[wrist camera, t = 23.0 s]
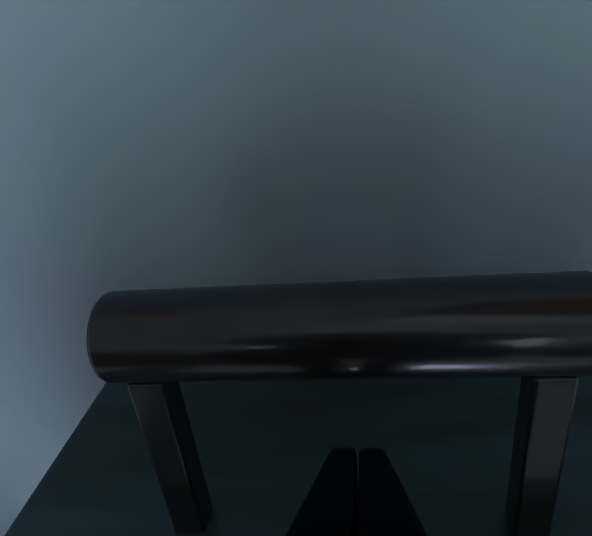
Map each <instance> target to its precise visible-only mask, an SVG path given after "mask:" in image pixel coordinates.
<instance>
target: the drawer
mask: <svg viewBox="0 0 592 536" xmlns="http://www.w3.org/2000/svg"><path fill="white" fill-rule="evenodd" d="M87 351H88V356H89V360H90V364H91V366H92V368H93V370H94V372H95V373H96V375H97V376H98V377H99V378H100V379H102V380H104V381H106V384H105V385H104V387H103V388H102V390H101V391H100V393H99V394H98V396H97V397H96V399H95V400H94V402H93V403H92V405H91V406H90V408H89V409H88V411H87V412H86V414H85V415H84V417H83V418H82V420H81V421H80V423H79V424H78V426H77V427H76V429H75V430H74V432H73V433H72V435H71V436H70V438H69V439H68V441H67V442H66V444H65V445H64V447H63V448H62V450H61V451H60V453H59V454H58V456H57V457H56V459H55V460H54V462H53V463H52V465H51V466H50V468H49V469H48V471H47V472H46V474H45V475H44V477H43V478H42V480H41V481H40V483H39V484H38V486H37V487H36V489H35V490H34V492H33V493H32V495H31V496H30V498H29V499H28V501H27V502H26V504H25V505H24V507H23V508H22V510H21V512H20V513H19V515H18V516H17V518H16V519H15V521H14V522H13V524H12V525H11V527H10V528H9V530H8V531H7V533H6V534H5V536H286V534H287V532H288V530H289V528H290V526H291V524H292V522H293V520H294V519H295V517H296V515H297V513H298V511H299V509H300V507H301V505H302V503H303V501H304V499H305V498H306V496H307V494H308V492H309V490H310V488H311V486H312V484H313V482H314V480H315V479H316V477H317V475H318V473H319V471H320V469H321V467H322V465H323V463H324V461H325V460H326V458H327V456H328V454H329V452H330V451H331V449H333V448H335V447H352V448H354V449H355V450H356V455H357V466H358V478H359V451H360V449H361V448H364V447H366V448H383V449H384V450H385V452H386V454H387V456H388V458H389V460H390V462H391V464H392V466H393V468H394V470H395V472H396V473H397V475H398V477H399V479H400V481H401V483H402V485H403V487H404V489H405V491H406V493H407V495H408V497H409V499H410V501H411V503H412V505H413V507H414V509H415V511H416V513H417V515H418V517H419V519H420V521H421V523H422V525H423V527H424V529H425V531H426V533H427V535H428V536H592V272H590V271H564V272H541V273H518V274H495V275H472V276H449V277H426V278H403V279H380V280H357V281H334V282H311V283H288V284H265V285H242V286H219V287H195V288H172V289H149V290H126V291H111V292H108V293H106V294H104V295H103V296H101V297H100V298H99V299H98V301H97V302H96V303H95V305H94V307H93V309H92V312H91V314H90V318H89V322H88V328H87ZM360 536H361V532H360Z"/></svg>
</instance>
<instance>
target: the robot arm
mask: <svg viewBox="0 0 592 536" xmlns="http://www.w3.org/2000/svg"><path fill="white" fill-rule="evenodd" d="M360 532H361V536H428V535H427V533H426V531H425V529H424V527H423V525H422V523H421V521H420V519H419V517H418V515H417V513H416V511H415V509H414V507H413V505H412V503H411V501H410V499H409V497H408V495H407V493H406V491H405V489H404V487H403V485H402V483H401V481H400V479H399V477H398V475H397V473H396V472H395V470H394V468H393V466H392V464H391V462H390V460H389V458H388V456H387V454H386V452H385V450H384V449H383V448H366V447H364V448H361V449H360V451H359V478H358V466H357V455H356V450H355V449H354V448H352V447H335V448H333V449H331V451H330V452H329V454H328V456H327V458H326V460H325V461H324V463H323V465H322V467H321V469H320V471H319V473H318V475H317V477H316V479H315V480H314V482H313V484H312V486H311V488H310V490H309V492H308V494H307V496H306V498H305V499H304V501H303V503H302V505H301V507H300V509H299V511H298V513H297V515H296V517H295V519H294V520H293V522H292V524H291V526H290V528H289V530H288V532H287V534H286V536H360Z"/></svg>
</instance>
